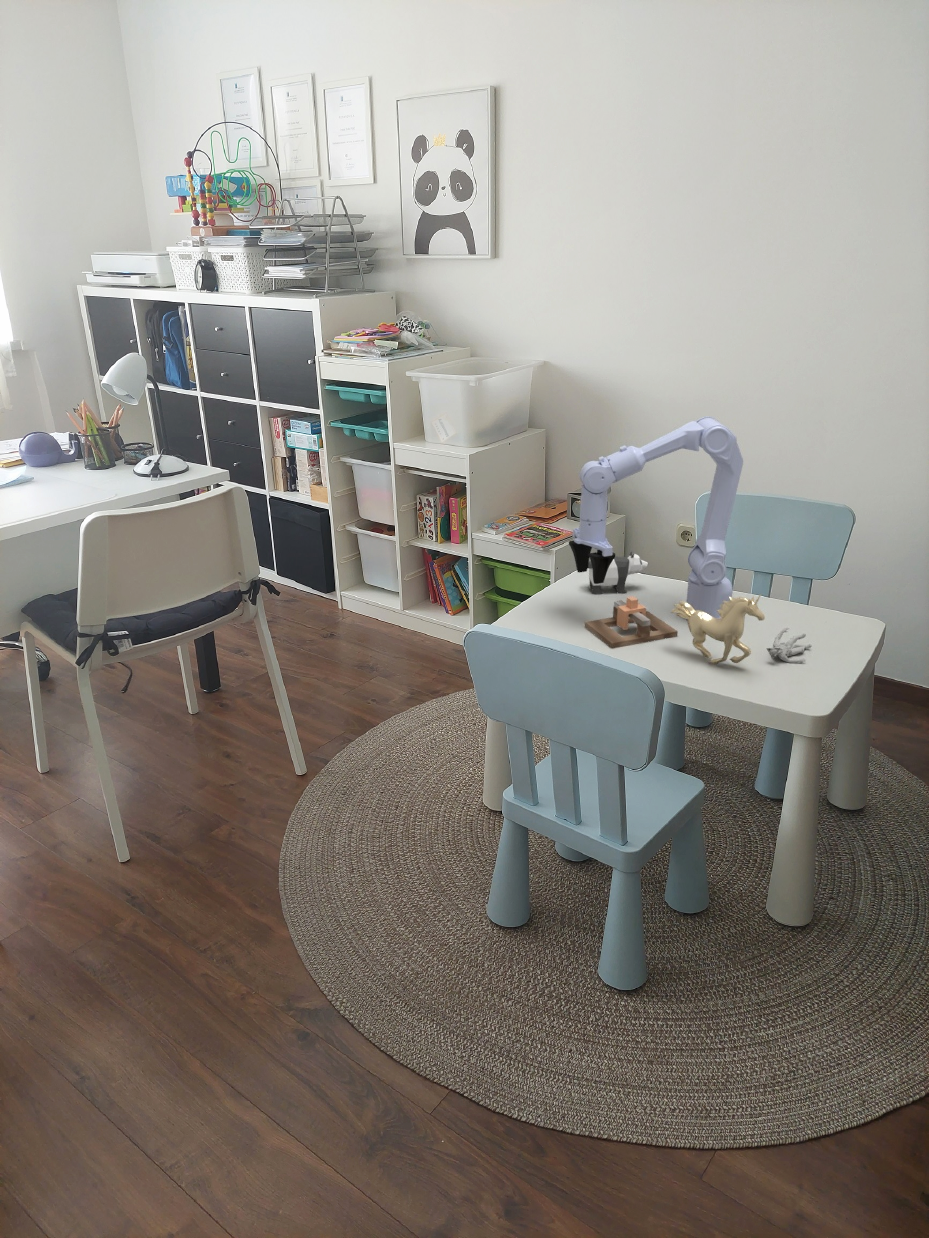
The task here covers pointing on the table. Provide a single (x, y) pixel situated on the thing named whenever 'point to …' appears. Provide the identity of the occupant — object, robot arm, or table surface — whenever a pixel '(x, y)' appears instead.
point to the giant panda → (618, 572)
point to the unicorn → (720, 625)
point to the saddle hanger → (629, 611)
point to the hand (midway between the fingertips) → (590, 577)
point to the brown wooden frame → (643, 622)
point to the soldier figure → (787, 648)
